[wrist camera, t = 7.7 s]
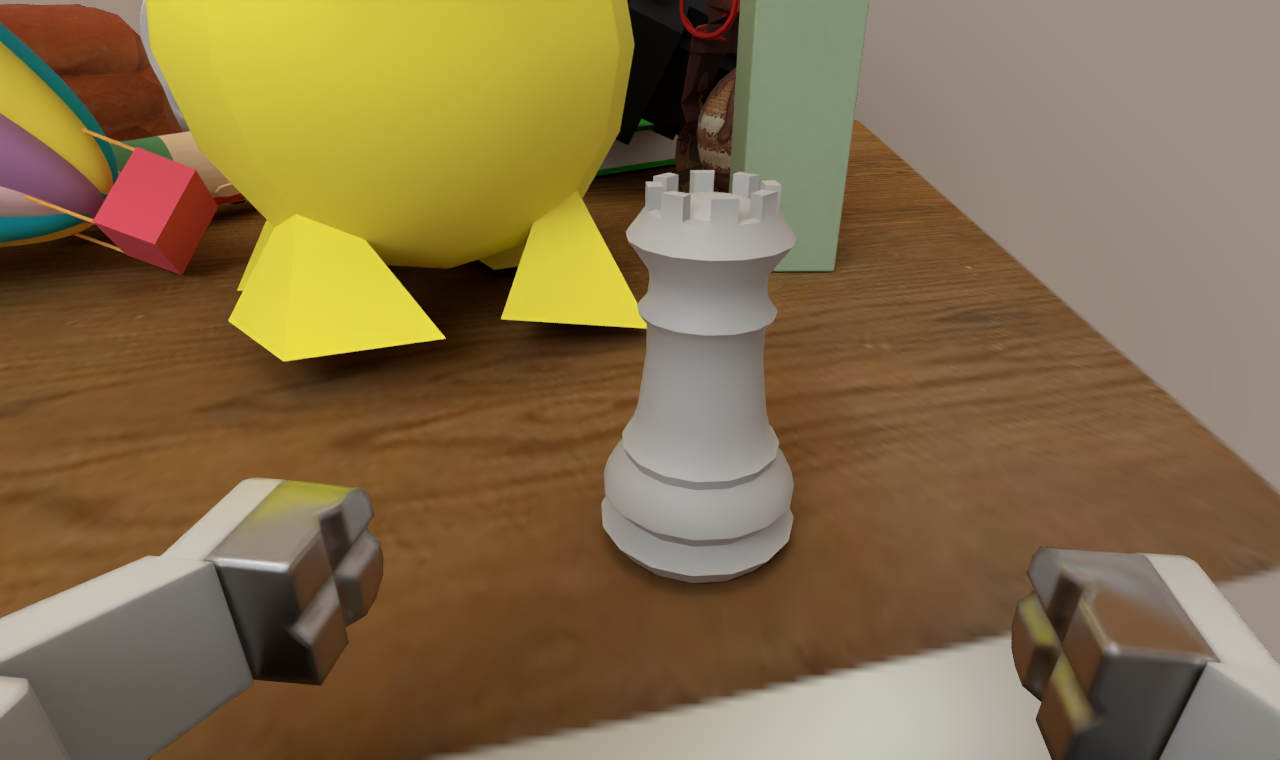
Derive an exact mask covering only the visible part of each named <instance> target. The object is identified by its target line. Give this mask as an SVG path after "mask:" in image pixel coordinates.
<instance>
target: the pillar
mask: <svg viewBox="0 0 1280 760" xmlns="http://www.w3.org/2000/svg"><path fill="white" fill-rule="evenodd" d="M868 8H869V0H740V16H739V32H738V49H737V66H736V82H735V99H734V116H733V132H732V149H731V166H730V182H729V193H730V194H732V184H733V174H735V173H737V172H744V173H750V174H756V175H760V180H759V190H760V189H761V181H765V180H776V181H777V182H778V183H779V184H780V185H782V188H781V199H780V209H779V210H780V212H781V214H782V215H783V217H784V218H785V220H786V221H787V223H788V224H789V226H790V227H791V229H792V231H793V232H794V234H795V235H796V237H797V239H796V242H795V244H794V246H793V248H792V249H791V250H790V251H789V252H788V253H787V255H786V256H785V257H784V258H783V259H782V260H781V261H780V263H779V264H778V265H777V266H776V267H775V268H774V269H773V271H834V267H835V260H836V252H837V244H838V237H839V229H840V221H841V214H842V206H843V199H844V191H845V183H846V176H847V168H848V160H849V153H850V145H851V138H852V130H853V122H854V115H855V107H856V99H857V92H858V84H859V77H860V69H861V61H862V54H863V46H864V38H865V31H866V23H867V15H868Z"/></svg>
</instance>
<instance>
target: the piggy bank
mask: <svg viewBox="0 0 1280 760" xmlns="http://www.w3.org/2000/svg"><path fill="white" fill-rule="evenodd" d="M146 11H147V21H148V32H149V42H150V49H151V51H152V53H153V55H154V57H155V59H156V61H157V63H158V65H159V67H160V69H161V72H162V74H163V76H164V78H165V80H166V82H167V84H168V86H169V88H170V90H171V92H172V94H173V96H174V98H175V101H176V103H177V105H178V107H179V109H180V111H181V113H182V115H183V117H184V119H185V121H186V123H187V125H188V127H189V130H190V132H191V134H192V136H193V138H194V140H195V142H196V144H197V146H198V148H199V149H200V151H201V152H202V153H203V154H204V155H205V156H206V157H207V158H208V159H209V161H210V162H211V163H212V164H213V165H214V166H215V167H216V168H217V169H218V170H219V171H220V172H221V173H222V174H223V175H224V176H225V177H226V178H227V179H228V180H229V181H230V182H231V183H232V184H233V185H234V186H235V187H236V188H237V190H238V191H239V192H240V193H241V194H242V195H243V196H244V197H245V198H246V199H247V200H248V201H249V202H250V203H251V204H252V205H253V206H254V207H255V208H256V209H257V210H258V211H259V212H260V213H261V214H262V215H263V216H264V217H265V219H266V222H265V225H264V227H263V229H262V232H261V234H260V237H259V239H258V241H257V244H256V246H255V249H254V251H253V253H252V256H251V258H250V261H249V263H248V265H247V268H246V270H245V272H244V275H243V277H242V280H241V282H240V284H239V287H238V289H237V291H243V292H242V294H241V296H240V298H239V300H238V302H237V304H236V306H235V308H234V310H233V312H232V314H231V316H230V318H229V320H228V321H229V322H230V323H232V324H233V325H234V326H236V327H237V328H239V329H240V330H241V331H243V332H244V333H245V334H247V335H248V336H249V337H251V338H252V339H253V340H255V341H256V342H257V343H259V344H260V345H262V346H263V347H264V348H266V349H267V350H268V351H270V352H271V353H272V354H274V355H275V356H276V357H278V358H279V359H280V360H282V361H283V362H284V361H291V360H298V359H306V358H313V357H320V356H327V355H334V354H341V353H348V352H355V351H362V350H369V349H376V348H383V347H390V346H397V345H405V344H412V343H419V342H426V341H433V340H440V339H446V338H445V336H444V335H443V334H442V333H441V332H440V330H439V329H438V328H437V327H436V325H435V324H434V323H433V322H432V321H431V319H430V318H429V317H428V316H427V314H426V313H425V312H424V311H423V310H422V308H421V307H420V306H419V305H418V303H417V302H416V301H415V300H414V299H413V297H412V296H411V295H410V294H409V292H408V291H407V290H406V289H405V288H404V286H403V285H402V284H401V283H400V281H399V280H398V279H397V278H396V277H395V275H394V274H393V273H392V272H391V270H390V269H389V268H388V267H387V266H386V265H394V266H410V267H425V268H441V269H449V268H452V267H456V266H459V265H462V264H465V263H469V262H472V261H475V260H479V261H481V262H482V263H484V264H486V265H487V266H489V267H491V268H492V269H494V270H497V269H504V268H511V267H517V266H518V269H517V272H516V275H515V278H514V281H513V284H512V287H511V290H510V293H509V296H508V299H507V302H506V305H505V308H504V311H503V314H502V317H501V320H517V321H533V322H549V323H565V324H581V325H598V326H614V327H630V328H646V329H647V324H646V322H645V321H644V320H643V319H642V318H641V316H640V315H639V312H638V307H637V302H636V300H635V298H634V296H633V294H632V292H631V290H630V288H629V287H628V285H627V283H626V281H625V279H624V277H623V275H622V273H621V272H620V270H619V268H618V266H617V264H616V262H615V260H614V258H613V256H612V255H611V253H610V251H609V249H608V247H607V245H606V243H605V241H604V239H603V238H602V236H601V234H600V232H599V230H598V228H597V226H596V224H595V222H594V221H593V219H592V217H591V215H590V213H589V211H588V209H587V207H586V205H585V204H584V202H583V200H582V199H583V197H584V195H585V193H586V192H587V190H588V188H589V186H590V184H591V182H592V181H593V179H594V177H595V175H596V173H597V172H598V170H599V168H600V166H601V164H602V163H603V161H604V159H605V157H606V155H607V154H608V152H609V150H610V148H611V146H612V145H613V143H614V141H615V139H616V137H617V136H618V134H619V132H620V127H621V122H622V116H623V110H624V104H625V98H626V92H627V86H628V81H629V75H630V69H631V63H632V57H633V51H634V46H635V44H634V38H633V32H632V26H631V20H630V14H629V9H628V3H627V0H146Z"/></svg>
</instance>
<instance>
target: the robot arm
mask: <svg viewBox="0 0 1280 760" xmlns="http://www.w3.org/2000/svg"><path fill="white" fill-rule="evenodd" d="M374 515H375V514H374V510H373V506H372V502H371V498H370V494H369V493H367V492H366V491H364V490H363V489H362V488H357V487H348V486H338V485H329V484H320V483H311V482H302V481H292V480H290V481H286V480H280V479H269V478H258V477H254V478H250V479H246V480H243V481H242V482H240V483H239V484H238V485H237V486H236V487H235V488H234V489H233V490H232V491H231V492H230V493H228V494H227V495H226V496H225V497H224V498H223V499H222V500H221V501H220V502H219V503H218V504H217V505H215V506H214V507H213V508H212V509H211V510H210V511H209V512H208V513H207V514H206V515H205V516H204V517H202V518H201V519H200V520H199V521H198V522H197V523H196V524H195V525H194V526H193V527H192V528H191V529H189V530H188V531H187V532H186V533H185V534H184V535H183V536H182V537H181V538H180V539H179V540H177V541H176V542H175V543H174V544H173V545H172V546H171V547H170V548H169V549H168V550H167V551H166V552H164V553H163V554H162V555H161V556H160V557H158V556H146V557H144V558H141V559H139V560H137V561H134V562H132V563H129V564H127V565H125V566H122V567H120V568H118V569H115V570H113V571H111V572H108V573H106V574H103V575H101V576H99V577H96V578H94V579H92V580H89V581H87V582H85V583H82V584H80V585H78V586H75V587H73V588H70V589H68V590H66V591H63V592H61V593H59V594H56V595H54V596H52V597H49V598H47V599H45V600H42V601H40V602H37V603H35V604H33V605H30V606H28V607H26V608H23V609H21V610H19V611H16V612H14V613H11V614H9V615H7V616H4V617H2V618H0V760H149V759H150V758H151V757H153V756H154V755H156V754H157V753H158V752H160V751H161V750H162V749H164V748H165V747H167V746H168V745H169V744H171V743H172V742H174V741H175V740H176V739H178V738H179V737H180V736H182V735H183V734H185V733H186V732H187V731H189V730H190V729H192V728H193V727H194V726H196V725H197V724H198V723H200V722H201V721H203V720H204V719H205V718H207V717H208V716H209V715H211V714H212V713H214V712H215V711H216V710H218V709H219V708H221V707H222V706H223V705H225V704H226V703H227V702H229V701H230V700H232V699H233V698H234V697H236V696H237V695H239V694H240V693H241V692H243V691H244V690H245V689H247V688H248V687H250V686H251V685H252V684H253V683H254V681H253V679H254V680H265V681H276V682H287V683H299V684H310V685H322V683H323V682H324V680H325V679H326V677H327V676H328V674H329V672H330V671H331V669H332V668H333V666H334V665H335V663H336V661H337V660H338V658H339V657H340V655H341V654H342V652H343V651H344V649H345V647H346V646H347V644H348V643H349V642H348V637H347V632H346V627H347V626H349V625H351V624H352V623H354V622H356V621H357V620H359V619H361V618H362V617H364V616H365V615H366V614H367V613H368V611H369V609H370V608H371V606H372V604H373V603H374V601H375V599H376V597H377V594H378V590H379V587H380V584H381V580H382V577H383V554H382V549H381V543H380V542H379V541H378V540H377V539H376V537H375V536H374V535H373V534H372V533H371V532H370V531H369V530H368V529H367V528H366V527H367V526H368V524H369V523H370V521H371V520H372V518H373V517H374ZM1027 575H1028V577H1029V579H1030V581H1031V583H1032V585H1033V588H1034V590H1035V591H1033V592H1032V593H1030V594H1029V595H1028V596H1026V597H1025V598H1024V599H1022V600H1021V601H1019V602H1018V603H1017V607H1016V611H1015V615H1014V618H1013V622H1012V653H1013V658H1014V663H1015V667H1016V670H1017V673H1018V675H1019V678H1020V681H1021V683H1022V686H1023V687H1025V688H1026V689H1027V690H1028V691H1029V692H1030V693H1031V694H1033V695H1034V696H1035V697H1036V698H1037V699H1038V700H1040V701H1041V702H1042V703H1041V706H1040V709H1039V712H1038V714H1037V717H1036V722H1037V724H1038V726H1039V729H1040V731H1041V734H1042V736H1043V739H1044V741H1045V744H1046V746H1047V749H1048V751H1049V754H1050V756H1051V759H1052V760H1280V666H1279V664H1278V663H1277V662H1276V661H1275V659H1274V658H1273V657H1272V656H1271V655H1270V653H1269V652H1268V651H1267V650H1266V648H1265V647H1264V646H1263V645H1262V643H1261V642H1260V641H1259V640H1258V638H1257V637H1256V636H1255V634H1254V633H1253V632H1252V631H1251V630H1250V628H1249V627H1248V626H1247V625H1246V623H1245V622H1244V621H1243V620H1242V618H1241V617H1240V616H1239V615H1238V613H1237V612H1236V611H1235V610H1234V608H1233V607H1232V606H1231V605H1230V603H1229V602H1228V601H1227V600H1226V598H1225V597H1224V596H1223V595H1222V593H1221V592H1220V591H1219V590H1218V588H1217V587H1216V586H1215V585H1214V583H1213V582H1212V581H1211V580H1210V578H1209V577H1208V576H1207V575H1206V573H1205V572H1204V571H1203V570H1202V568H1201V567H1200V566H1199V565H1198V564H1197V563H1196V562H1195V561H1193V560H1191V559H1189V558H1188V557H1186V556H1183V555H1167V554H1150V553H1134V554H1128V553H1116V552H1103V551H1091V550H1079V549H1066V548H1054V547H1042V546H1040V547H1039V549H1038V550H1037V551H1036V553H1035V554H1034V555H1033V556H1032V559H1031V562H1030V565H1029V568H1028V572H1027Z"/></svg>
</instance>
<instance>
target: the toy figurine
mask: <svg viewBox="0 0 1280 760" xmlns="http://www.w3.org/2000/svg"><path fill="white" fill-rule="evenodd" d="M118 142H120V141H118ZM109 143H110V142H109ZM121 143H123V144H126V145H128V146H131V147H134V148H136V147H139V148H141V149H144V150H147V151H149V152H152V153H154V154H157V155H159V156H162V157H165V158H167V159H170V160H172V161H175V162H178V163H180V164H183V165H185V166H188V167H190V168H193V169H196V171H197V172H198V174H199V176H200V177H201V179H202V181H203V182H204V184H205V186H206V187H207V189H208V191H209V192H210V194H211V196H212V197H213V199H214V201H215V202H216V204H217V206H220V205H225V204H239V203H244V202H245V201H246V200H247V199H246V198H245V197H244V196H243V195H242V194H241V193H240V192H239V191H238V190H237V188H236V187H235V186H234V185H233V184H232V183H231V182H230V181H229V180H228V179H227V178H226V177H225V176H224V175H223V174H222V173H221V172H220V171H219V170H218V169H217V168H216V167H215V166H214V165H213V164H212V163H211V162H210V161H209V159H208V158H207V157H206V156H205V155H204V154H203V153H202V152H201V151H200V149H199V148H198V146H197V144H196V142H195V140H194V138H193V136H192V134H191V132H190V131H188V132H182V133H175V134H168V135H162V136H155V137H149V138H142V139H136V140H129V141H123V142H121ZM110 145H111V148H112V150H113V153H114V156H115V158H116V162H117V166H118V170H119V171H120V172H122V170H123V168H124V167H125V165H126V163H127V162H128V160H129V158H130V156H131V155H132V153H133V151H131V150H128V149H126V148H123V147H120V146H118V145H115V144H113V143H110ZM70 236H72V235H70ZM67 237H68V236H67Z"/></svg>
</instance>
